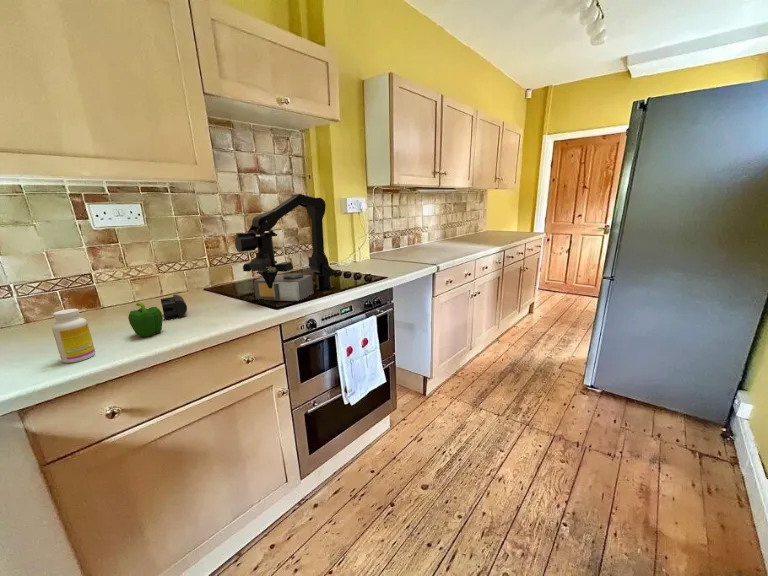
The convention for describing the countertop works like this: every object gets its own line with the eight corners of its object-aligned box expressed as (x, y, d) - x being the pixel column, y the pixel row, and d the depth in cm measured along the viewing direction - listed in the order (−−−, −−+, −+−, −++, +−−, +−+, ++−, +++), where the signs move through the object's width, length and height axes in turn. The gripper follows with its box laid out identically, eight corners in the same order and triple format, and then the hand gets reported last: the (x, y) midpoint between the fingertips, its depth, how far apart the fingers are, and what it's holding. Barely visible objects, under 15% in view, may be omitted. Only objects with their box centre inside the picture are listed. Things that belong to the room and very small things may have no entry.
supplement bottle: (102, 353, 89) (90, 307, 85) (74, 364, 82) (60, 316, 79) (84, 351, 90) (71, 306, 87) (55, 362, 84) (40, 314, 81)
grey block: (272, 292, 147) (269, 272, 145) (313, 293, 143) (311, 272, 140) (256, 299, 136) (253, 278, 134) (300, 301, 131) (298, 278, 129)
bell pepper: (168, 333, 101) (162, 302, 99) (135, 341, 96) (128, 309, 93) (162, 327, 107) (156, 297, 105) (131, 334, 102) (123, 303, 99)
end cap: (189, 316, 117) (185, 298, 115) (165, 321, 113) (161, 302, 112) (185, 310, 125) (182, 293, 123) (163, 314, 121) (159, 296, 119)
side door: (277, 298, 133) (275, 281, 131) (300, 299, 131) (298, 281, 129) (273, 300, 130) (271, 283, 129) (296, 301, 128) (294, 283, 126)
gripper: (230, 252, 122) (236, 292, 125) (276, 251, 117) (281, 294, 121) (249, 248, 132) (254, 285, 136) (291, 247, 128) (295, 286, 132)
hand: (270, 288), depth 131 cm, fingers closed
